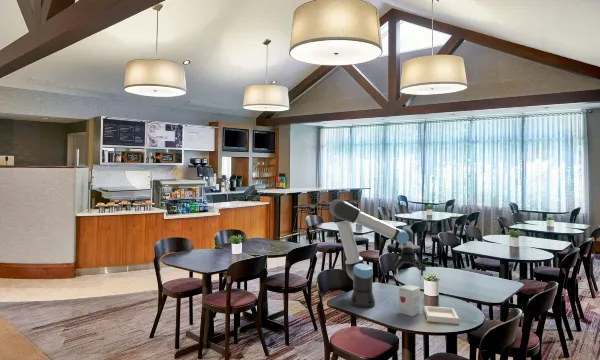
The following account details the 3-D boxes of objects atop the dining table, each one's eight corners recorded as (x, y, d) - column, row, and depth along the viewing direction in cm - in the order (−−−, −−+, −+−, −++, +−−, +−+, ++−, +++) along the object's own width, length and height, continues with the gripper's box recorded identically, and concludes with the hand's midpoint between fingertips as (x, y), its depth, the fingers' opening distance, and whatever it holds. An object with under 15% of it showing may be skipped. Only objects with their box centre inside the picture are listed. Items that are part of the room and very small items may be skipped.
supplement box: (398, 312, 226) (398, 286, 226) (405, 308, 233) (406, 283, 232) (412, 316, 220) (413, 290, 220) (420, 312, 227) (420, 287, 226)
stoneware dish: (427, 321, 214) (427, 315, 214) (424, 310, 230) (424, 305, 229) (458, 323, 211) (458, 318, 211) (453, 313, 226) (453, 308, 226)
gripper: (427, 254, 251) (429, 284, 236) (387, 252, 256) (387, 281, 241) (428, 247, 245) (431, 277, 231) (387, 245, 250) (387, 275, 236)
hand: (408, 279), depth 236 cm, fingers open, 13 cm apart
